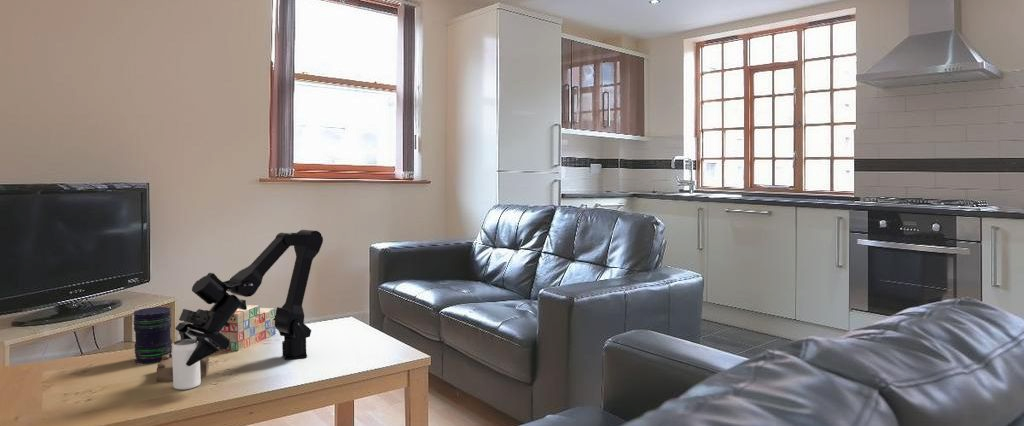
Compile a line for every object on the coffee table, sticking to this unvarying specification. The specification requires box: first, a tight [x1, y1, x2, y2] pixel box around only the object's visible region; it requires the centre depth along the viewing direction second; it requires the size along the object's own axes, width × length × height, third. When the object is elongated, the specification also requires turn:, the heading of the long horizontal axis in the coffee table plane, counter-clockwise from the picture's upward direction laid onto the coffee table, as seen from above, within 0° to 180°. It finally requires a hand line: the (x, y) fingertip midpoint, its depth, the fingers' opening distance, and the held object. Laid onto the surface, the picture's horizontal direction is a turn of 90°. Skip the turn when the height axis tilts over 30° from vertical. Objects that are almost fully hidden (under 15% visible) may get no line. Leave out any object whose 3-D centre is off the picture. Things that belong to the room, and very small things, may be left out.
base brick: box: [156, 355, 210, 382], centre depth 176 cm, size 12×10×4 cm
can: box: [171, 339, 202, 391], centre depth 165 cm, size 6×6×12 cm
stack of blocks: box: [220, 304, 277, 352], centre depth 208 cm, size 21×6×12 cm, turn 169°
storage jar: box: [133, 306, 173, 365], centre depth 189 cm, size 10×10×15 cm
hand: (181, 363), depth 164 cm, fingers closed on can, 6 cm apart
